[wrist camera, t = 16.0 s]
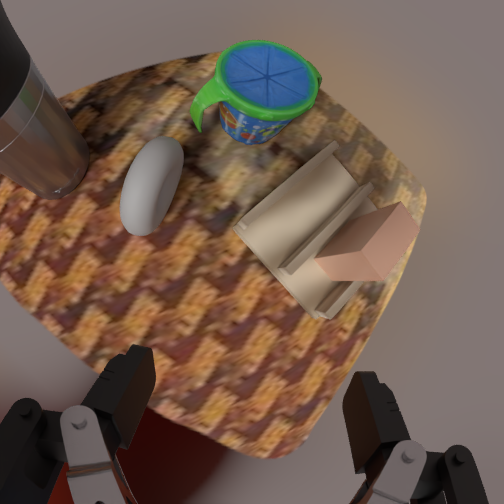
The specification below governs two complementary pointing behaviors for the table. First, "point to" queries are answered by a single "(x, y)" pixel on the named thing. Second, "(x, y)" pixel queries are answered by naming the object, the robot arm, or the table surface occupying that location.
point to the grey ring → (151, 185)
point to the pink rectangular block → (369, 245)
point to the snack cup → (258, 90)
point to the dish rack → (307, 230)
